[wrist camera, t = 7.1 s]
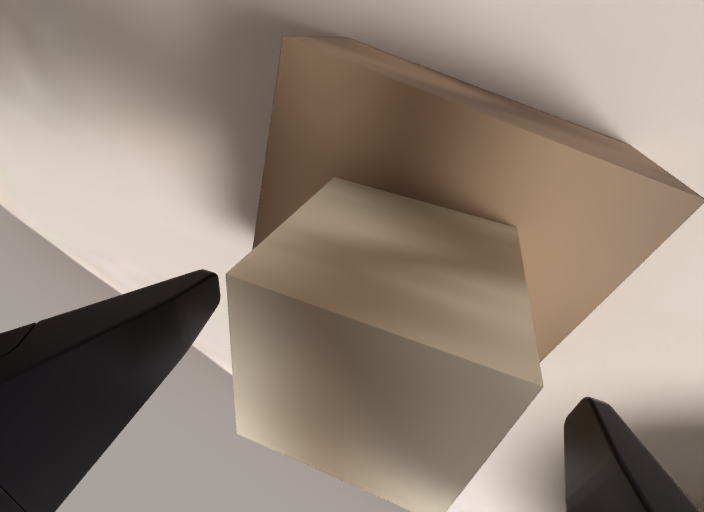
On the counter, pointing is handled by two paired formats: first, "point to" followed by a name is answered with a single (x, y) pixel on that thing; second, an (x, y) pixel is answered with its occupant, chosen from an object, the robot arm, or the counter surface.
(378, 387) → the maple cube
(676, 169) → the counter surface
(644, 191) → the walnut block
